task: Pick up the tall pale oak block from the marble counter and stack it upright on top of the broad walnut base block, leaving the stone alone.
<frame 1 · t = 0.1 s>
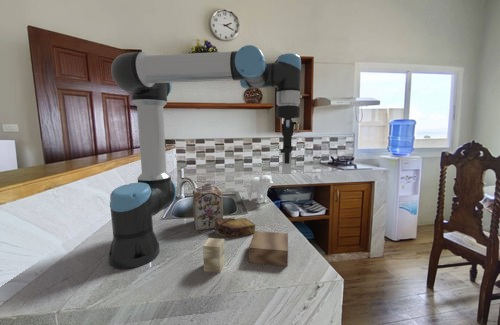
hand: (286, 170, 78), 28 cm above the worktop, fingers open, 13 cm apart
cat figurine: (258, 201, 136), on the worktop
oak block: (214, 267, 70), on the worktop
plinth: (269, 254, 78), on the worktop
decorative jar: (208, 224, 103), on the worktop
stone: (235, 232, 95), on the worktop
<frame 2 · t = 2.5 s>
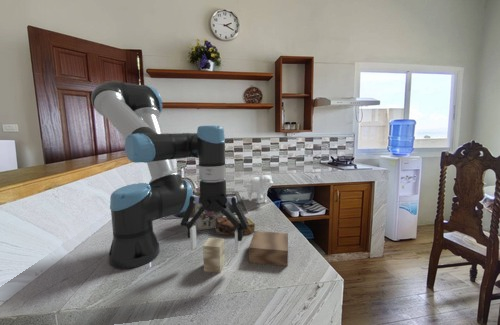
hand: (215, 249, 69), 6 cm above the worktop, fingers open, 13 cm apart
decorative jar: (207, 224, 103), on the worktop, touching stone
stone: (235, 231, 96), on the worktop, touching decorative jar
everything else where it was.
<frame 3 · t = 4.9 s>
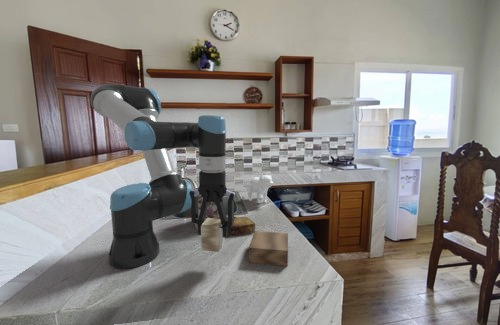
hand: (212, 245, 70), 7 cm above the worktop, fingers closed on oak block, 5 cm apart
oak block: (212, 246, 70), point 6 cm above the worktop, touching gripper
decorative jar: (207, 224, 103), on the worktop
stone: (236, 230, 97), on the worktop
everything else where it was.
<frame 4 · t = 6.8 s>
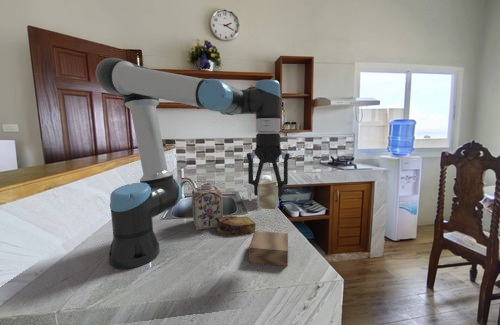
hand: (268, 205, 75), 17 cm above the worktop, fingers closed on oak block, 5 cm apart
oak block: (268, 206, 74), point 17 cm above the worktop, touching gripper
decorative jar: (207, 223, 103), on the worktop, touching stone
stone: (236, 230, 97), on the worktop, touching decorative jar
everything else where it was.
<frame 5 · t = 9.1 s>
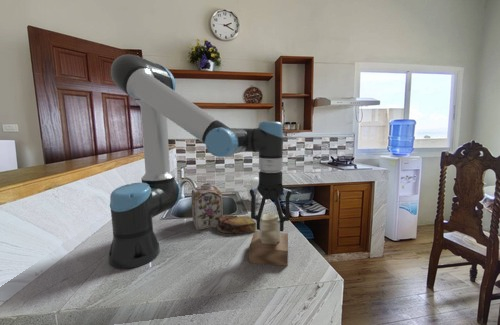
hand: (270, 239, 77), 5 cm above the worktop, fingers closed on oak block, 5 cm apart
oak block: (269, 240, 77), point 5 cm above the worktop, touching gripper, plinth
decorative jar: (207, 223, 104), on the worktop
stone: (237, 229, 98), on the worktop
everything else where it was.
when the fingers open (5 cm above the worktop, at t = 9.5 s): oak block stays where it is, resting on plinth.
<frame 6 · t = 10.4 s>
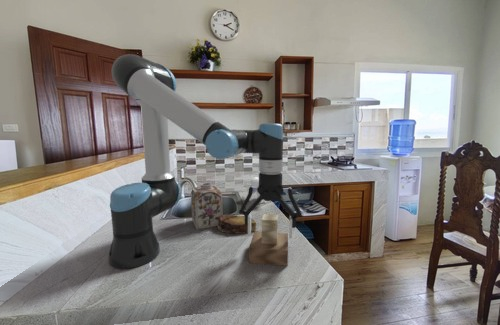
hand: (269, 235, 77), 7 cm above the worktop, fingers open, 13 cm apart
oak block: (269, 240, 77), point 5 cm above the worktop, touching plinth
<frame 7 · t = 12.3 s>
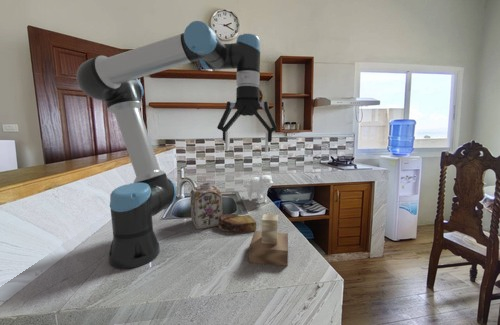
hand: (246, 151, 79), 34 cm above the worktop, fingers open, 13 cm apart
decorative jar: (206, 223, 104), on the worktop, touching stone
stone: (238, 228, 98), on the worktop, touching decorative jar
everything else where it was.
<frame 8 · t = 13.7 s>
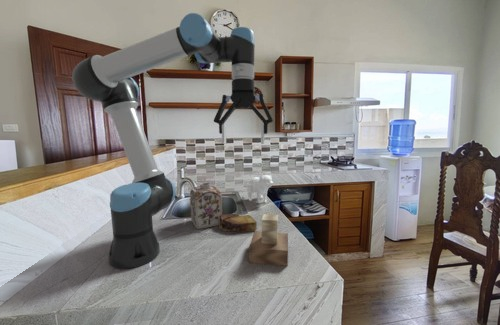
hand: (243, 143, 80), 37 cm above the worktop, fingers open, 13 cm apart
decorative jar: (206, 223, 104), on the worktop
stone: (238, 228, 99), on the worktop
everything else where it was.
at the end: oak block inside the target area on the plinth (0.1 cm from its centre), point 5.0 cm above the plinth's base; oak block tilted 0°; oak block touching plinth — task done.
